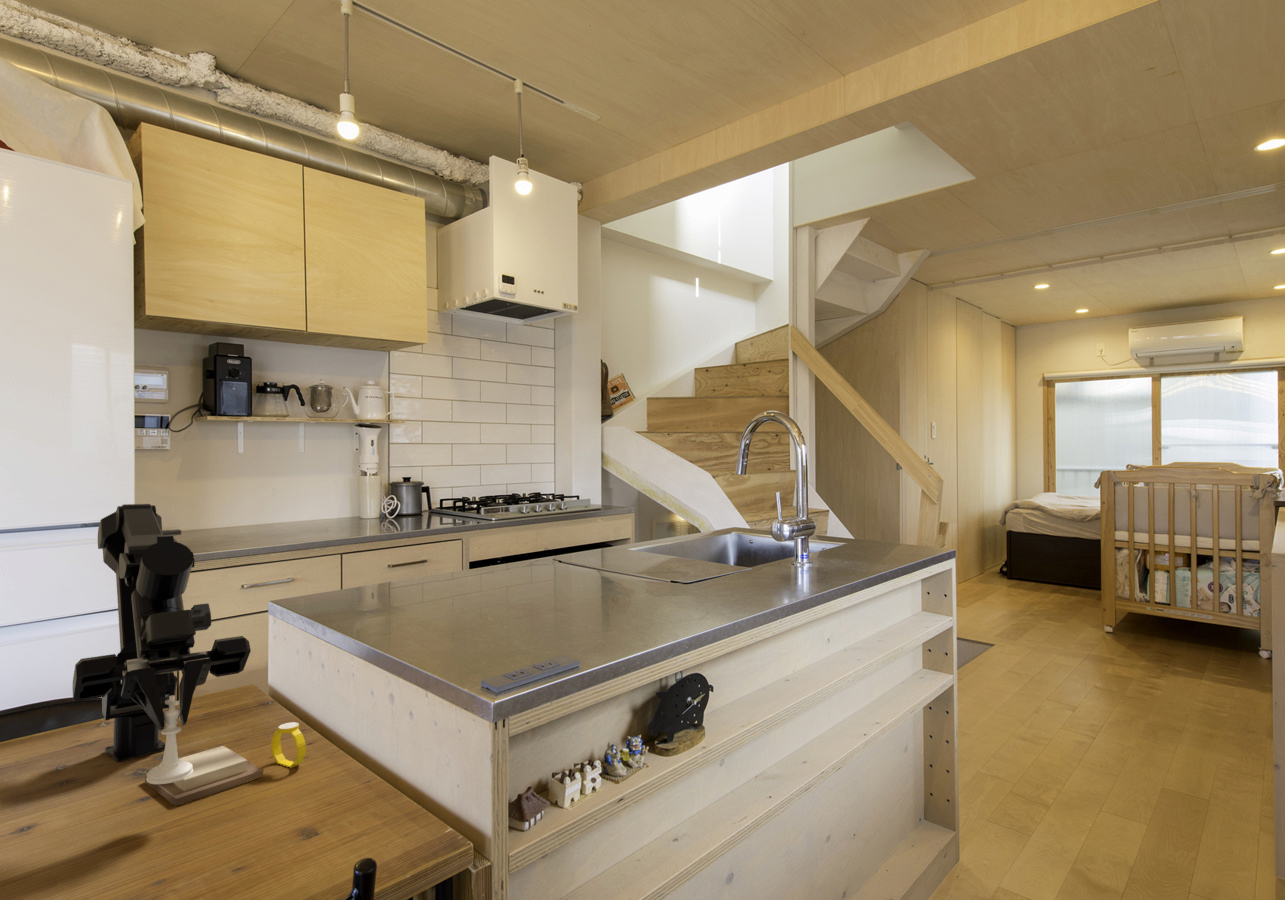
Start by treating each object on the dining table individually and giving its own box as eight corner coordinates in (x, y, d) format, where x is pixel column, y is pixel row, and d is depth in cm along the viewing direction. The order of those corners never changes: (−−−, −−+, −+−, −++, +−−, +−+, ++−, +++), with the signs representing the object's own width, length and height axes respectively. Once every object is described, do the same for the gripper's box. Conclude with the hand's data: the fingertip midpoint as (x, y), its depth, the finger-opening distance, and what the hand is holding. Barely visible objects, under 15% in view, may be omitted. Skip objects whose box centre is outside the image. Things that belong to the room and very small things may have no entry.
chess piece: (169, 786, 86) (172, 704, 86) (136, 782, 87) (138, 700, 87) (202, 769, 90) (204, 691, 91) (170, 764, 91) (172, 687, 92)
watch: (266, 766, 105) (265, 726, 105) (283, 759, 107) (282, 720, 108) (294, 772, 102) (293, 730, 103) (310, 764, 105) (309, 724, 105)
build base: (144, 782, 99) (145, 764, 99) (228, 756, 107) (229, 739, 107) (175, 806, 92) (176, 787, 92) (262, 777, 101) (263, 759, 101)
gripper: (77, 593, 85) (84, 710, 77) (248, 577, 98) (270, 676, 90) (69, 644, 91) (75, 758, 83) (232, 623, 104) (251, 720, 95)
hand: (173, 726), depth 88 cm, fingers closed on chess piece
